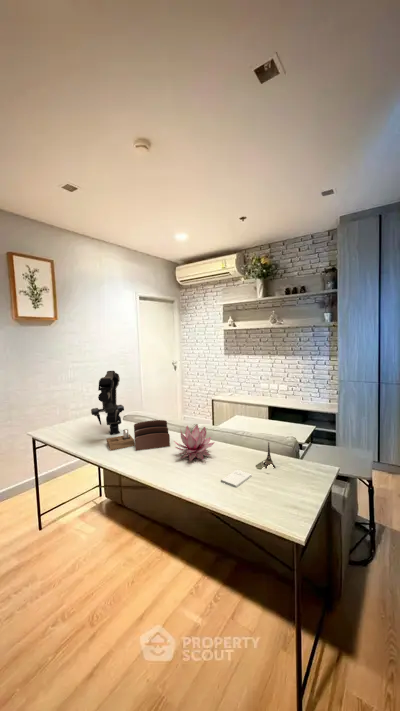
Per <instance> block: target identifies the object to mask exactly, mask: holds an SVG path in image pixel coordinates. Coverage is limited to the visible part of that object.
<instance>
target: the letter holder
mask: <svg viewBox="0 0 400 711" xmlns="http://www.w3.org/2000/svg"><path fill="white" fill-rule="evenodd" d="M133 434H134V435H133V436H134V443H135V446H134V447H135V451H136V452H138V451H145V450H152V449H161V448H169V447H170V446H171V441H170V440H171V438H170V437H171V436H170V433H169V428H168V422H167V420H165V419H164V420H163V419H155V420H153V419H152V420H147V421H146V420H145V421H140V422H137V423H134V425H133Z"/></svg>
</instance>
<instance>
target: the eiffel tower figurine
mask: <svg viewBox="0 0 400 711" xmlns="http://www.w3.org/2000/svg"><path fill="white" fill-rule="evenodd" d="M270 450H271V449H270V442H269V441H268V442H267V455H266V458H265V459H264V460H261V462H258V463H257V464H255V468H256V470H260V471H261V470H263V469H265V470H267V466H268V465H270V464H272V465H273V467H274V468H273V469H277V467H276V466H275V463H273V459H272V456H271V451H270ZM263 467H265V468H263ZM262 468H263V469H262Z"/></svg>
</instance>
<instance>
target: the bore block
mask: <svg viewBox="0 0 400 711" xmlns="http://www.w3.org/2000/svg"><path fill="white" fill-rule="evenodd" d="M128 434H129V433H128ZM106 444H107V447H108V449H109V451H110V452H112V451H117V450H122V449H126V448H131V447H135V438H133V437H132V436H131V434H129V439H126V440H124V437H123V435H119V436H113V437H107V438H106Z"/></svg>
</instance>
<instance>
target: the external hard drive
mask: <svg viewBox="0 0 400 711" xmlns="http://www.w3.org/2000/svg"><path fill="white" fill-rule="evenodd" d="M251 477H252V474H251V473H249V472H246V471H244V470H243V471H242V470H240V469H235V470H233V471H232V472H231V473H229V474H227V476H225V477H223V478H222V479H220V483H222V484H224V483H225V485H227V486H230V487H232V488H235V489H237V488H238V487H240V486H242V485H243V484H244V483H245V482H246V481H248V480H249V479H250V478H251Z"/></svg>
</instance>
